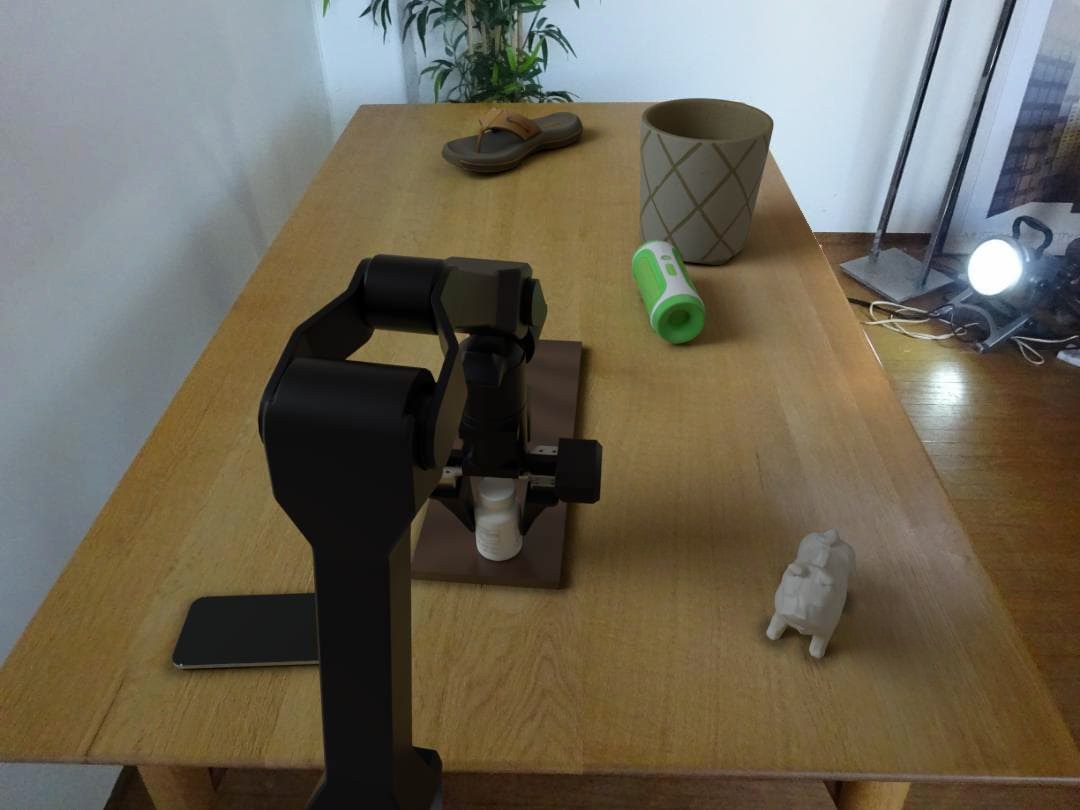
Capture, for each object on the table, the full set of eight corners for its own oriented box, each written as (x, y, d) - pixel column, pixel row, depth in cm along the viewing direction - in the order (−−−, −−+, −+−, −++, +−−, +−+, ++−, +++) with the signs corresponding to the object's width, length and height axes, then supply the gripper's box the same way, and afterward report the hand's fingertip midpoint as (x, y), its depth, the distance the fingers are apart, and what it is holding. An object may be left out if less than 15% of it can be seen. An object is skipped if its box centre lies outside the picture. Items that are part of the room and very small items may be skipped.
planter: (739, 280, 120) (761, 149, 108) (617, 258, 126) (625, 131, 113) (761, 227, 134) (783, 105, 122) (650, 210, 140) (660, 92, 127)
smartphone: (348, 659, 68) (168, 665, 68) (349, 664, 68) (170, 670, 68) (359, 590, 74) (193, 595, 73) (360, 595, 74) (195, 600, 74)
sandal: (422, 164, 157) (418, 115, 151) (557, 124, 174) (557, 79, 168) (464, 186, 148) (461, 135, 143) (601, 142, 165) (603, 96, 160)
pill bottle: (511, 522, 80) (508, 464, 75) (529, 553, 77) (528, 494, 72) (469, 537, 78) (464, 478, 74) (487, 568, 75) (483, 509, 70)
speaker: (627, 283, 120) (630, 236, 115) (675, 280, 120) (680, 234, 116) (650, 349, 106) (655, 299, 101) (705, 346, 106) (712, 296, 102)
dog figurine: (749, 668, 68) (770, 587, 61) (793, 566, 77) (815, 485, 70) (811, 697, 66) (840, 616, 59) (849, 588, 75) (878, 507, 68)
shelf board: (558, 589, 75) (558, 581, 74) (410, 579, 76) (408, 570, 75) (581, 348, 106) (582, 341, 105) (476, 343, 107) (476, 336, 106)
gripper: (607, 350, 72) (600, 478, 82) (403, 340, 74) (419, 467, 83) (604, 429, 64) (596, 562, 73) (372, 416, 65) (394, 548, 75)
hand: (498, 530), depth 76 cm, fingers closed on pill bottle, 4 cm apart
